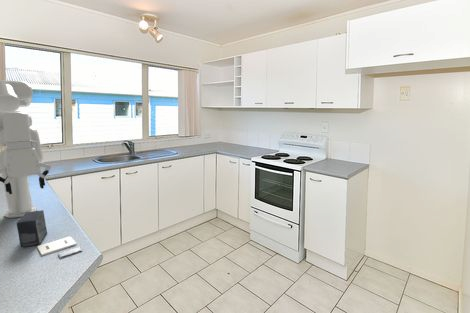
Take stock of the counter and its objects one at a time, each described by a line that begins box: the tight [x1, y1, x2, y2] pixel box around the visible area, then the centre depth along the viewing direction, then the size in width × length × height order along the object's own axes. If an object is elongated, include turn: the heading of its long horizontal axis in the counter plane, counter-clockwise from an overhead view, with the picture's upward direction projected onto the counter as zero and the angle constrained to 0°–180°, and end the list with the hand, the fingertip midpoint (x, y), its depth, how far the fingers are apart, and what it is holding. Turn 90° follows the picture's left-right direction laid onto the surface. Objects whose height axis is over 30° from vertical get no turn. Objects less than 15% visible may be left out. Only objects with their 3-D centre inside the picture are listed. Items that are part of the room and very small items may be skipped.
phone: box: [57, 246, 83, 260], centre depth 99 cm, size 4×7×1 cm, turn 135°
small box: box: [15, 210, 48, 249], centre depth 107 cm, size 11×6×10 cm, turn 21°
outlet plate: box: [36, 236, 77, 256], centre depth 104 cm, size 8×11×1 cm
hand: (26, 190), depth 104 cm, fingers open, 9 cm apart
